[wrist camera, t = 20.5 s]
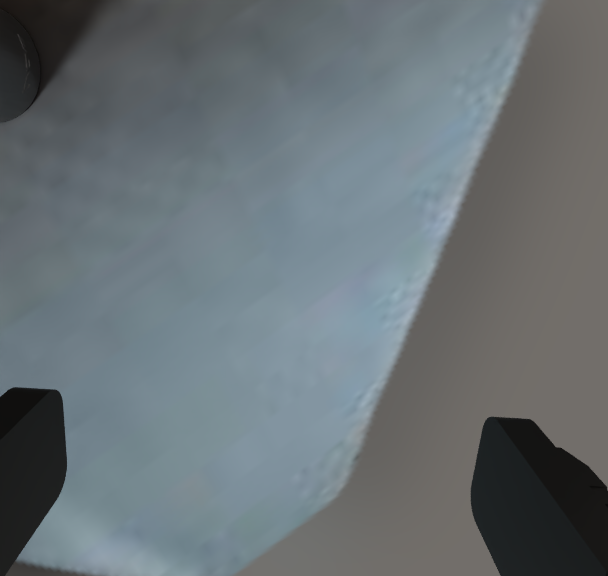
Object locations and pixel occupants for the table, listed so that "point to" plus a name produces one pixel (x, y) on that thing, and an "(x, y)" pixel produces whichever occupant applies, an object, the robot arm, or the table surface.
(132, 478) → the table surface
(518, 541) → the robot arm
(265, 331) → the table surface
